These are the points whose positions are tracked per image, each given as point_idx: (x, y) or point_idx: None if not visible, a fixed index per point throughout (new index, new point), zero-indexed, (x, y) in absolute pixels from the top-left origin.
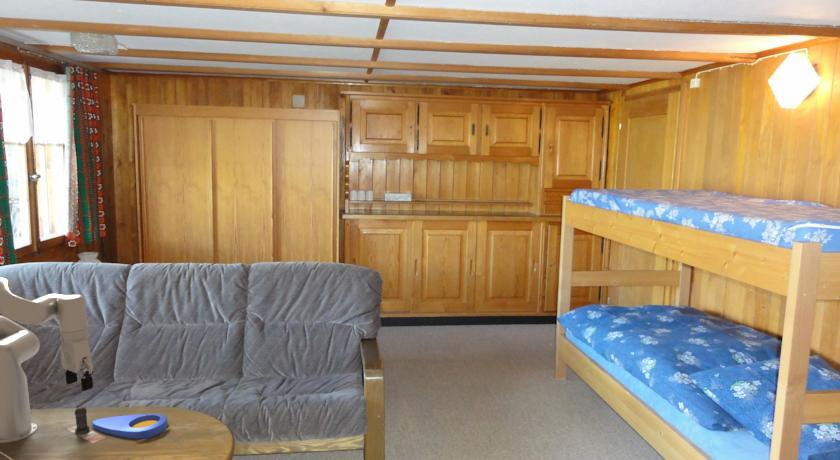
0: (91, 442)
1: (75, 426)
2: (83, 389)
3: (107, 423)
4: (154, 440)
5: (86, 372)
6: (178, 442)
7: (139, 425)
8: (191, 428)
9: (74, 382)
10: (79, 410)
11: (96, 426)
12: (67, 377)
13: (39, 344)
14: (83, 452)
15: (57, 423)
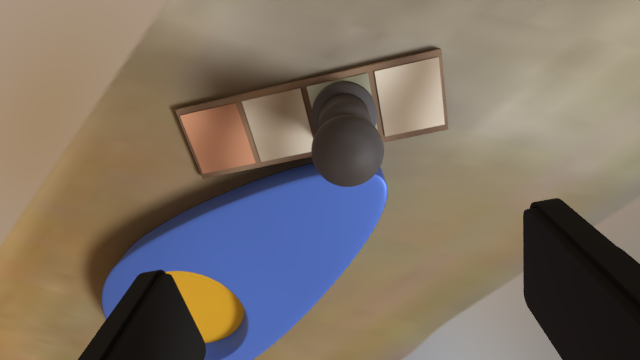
0: (190, 113)
1: (434, 102)
2: (136, 286)
3: (291, 216)
4: (92, 286)
5: None
6: (36, 328)
7: (206, 293)
8: None
9: (529, 271)
10: (323, 148)
11: (312, 173)
12: (584, 271)
13: None
14: (126, 60)
15: (579, 41)
